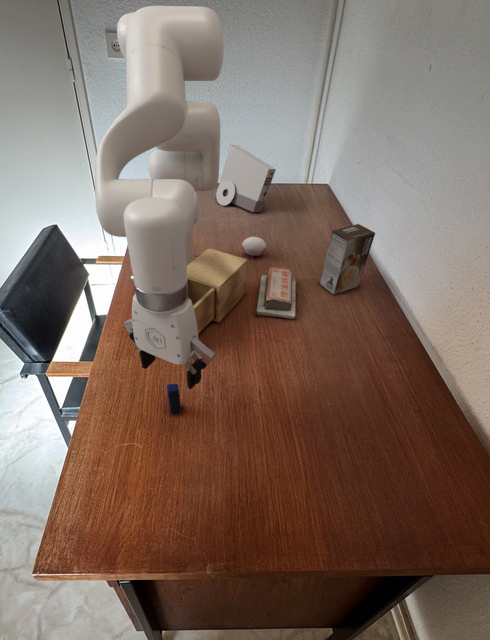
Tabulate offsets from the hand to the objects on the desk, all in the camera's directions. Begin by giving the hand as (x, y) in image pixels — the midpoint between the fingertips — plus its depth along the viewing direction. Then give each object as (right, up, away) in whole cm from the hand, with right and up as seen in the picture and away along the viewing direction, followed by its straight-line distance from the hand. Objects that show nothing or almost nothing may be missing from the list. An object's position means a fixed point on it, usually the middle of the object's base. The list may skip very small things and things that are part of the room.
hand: (171, 373), depth 66 cm
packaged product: (+25, +20, +35) cm, 48 cm away
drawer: (0, +11, +24) cm, 27 cm away
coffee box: (+43, +25, +40) cm, 64 cm away
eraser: (0, -7, +8) cm, 11 cm away
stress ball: (+20, +38, +52) cm, 68 cm away
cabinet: (+7, +19, +34) cm, 40 cm away
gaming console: (+18, +66, +79) cm, 104 cm away
